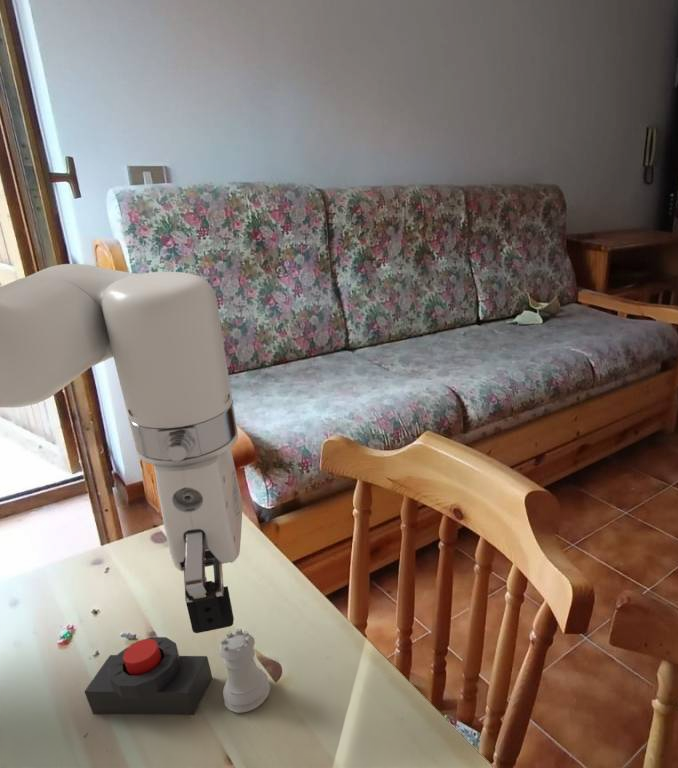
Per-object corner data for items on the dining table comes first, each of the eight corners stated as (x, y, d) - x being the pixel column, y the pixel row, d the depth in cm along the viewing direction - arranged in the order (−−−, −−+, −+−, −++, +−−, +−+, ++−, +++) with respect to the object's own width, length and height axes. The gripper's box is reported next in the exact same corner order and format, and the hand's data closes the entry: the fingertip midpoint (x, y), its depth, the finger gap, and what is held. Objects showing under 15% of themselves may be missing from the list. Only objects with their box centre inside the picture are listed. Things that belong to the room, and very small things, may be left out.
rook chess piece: (232, 724, 62) (218, 665, 58) (218, 693, 65) (204, 636, 61) (277, 699, 64) (266, 642, 61) (262, 670, 67) (250, 614, 64)
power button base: (87, 721, 62) (73, 685, 59) (121, 670, 67) (109, 636, 65) (190, 722, 62) (180, 686, 60) (215, 671, 67) (207, 637, 65)
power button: (120, 676, 61) (116, 663, 60) (137, 651, 64) (133, 638, 63) (151, 676, 61) (147, 663, 60) (167, 651, 64) (163, 638, 63)
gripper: (230, 477, 45) (260, 651, 52) (239, 379, 60) (261, 525, 67) (110, 493, 43) (158, 673, 50) (150, 387, 57) (183, 538, 64)
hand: (217, 588), depth 58 cm, fingers open, 9 cm apart
